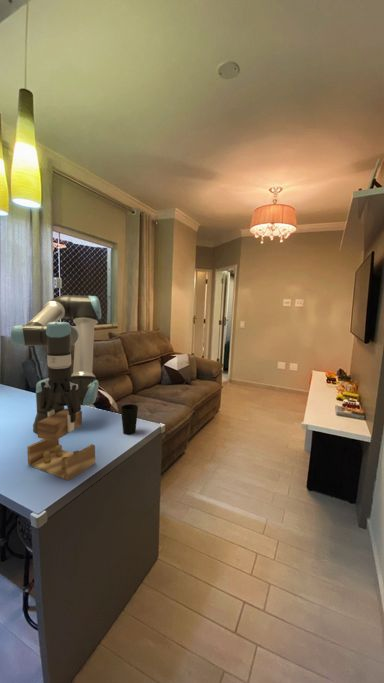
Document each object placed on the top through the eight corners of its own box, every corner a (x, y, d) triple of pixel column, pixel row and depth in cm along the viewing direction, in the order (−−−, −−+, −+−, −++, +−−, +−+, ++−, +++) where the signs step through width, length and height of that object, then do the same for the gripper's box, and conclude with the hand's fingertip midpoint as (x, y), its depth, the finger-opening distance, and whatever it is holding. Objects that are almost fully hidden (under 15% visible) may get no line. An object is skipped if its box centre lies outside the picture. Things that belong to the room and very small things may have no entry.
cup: (133, 436, 126) (133, 410, 125) (117, 434, 128) (117, 409, 126) (140, 429, 134) (140, 405, 132) (125, 427, 135) (125, 403, 134)
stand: (28, 465, 102) (27, 446, 101) (56, 450, 113) (55, 433, 112) (68, 480, 93) (68, 460, 93) (95, 463, 104) (94, 444, 103)
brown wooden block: (54, 441, 94) (54, 425, 93) (37, 437, 96) (37, 422, 95) (82, 424, 107) (81, 410, 107) (66, 422, 109) (66, 408, 108)
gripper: (26, 366, 97) (29, 430, 100) (79, 370, 93) (80, 437, 96) (42, 362, 105) (44, 422, 107) (91, 366, 101) (92, 428, 103)
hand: (61, 429), depth 102 cm, fingers closed on brown wooden block, 7 cm apart
